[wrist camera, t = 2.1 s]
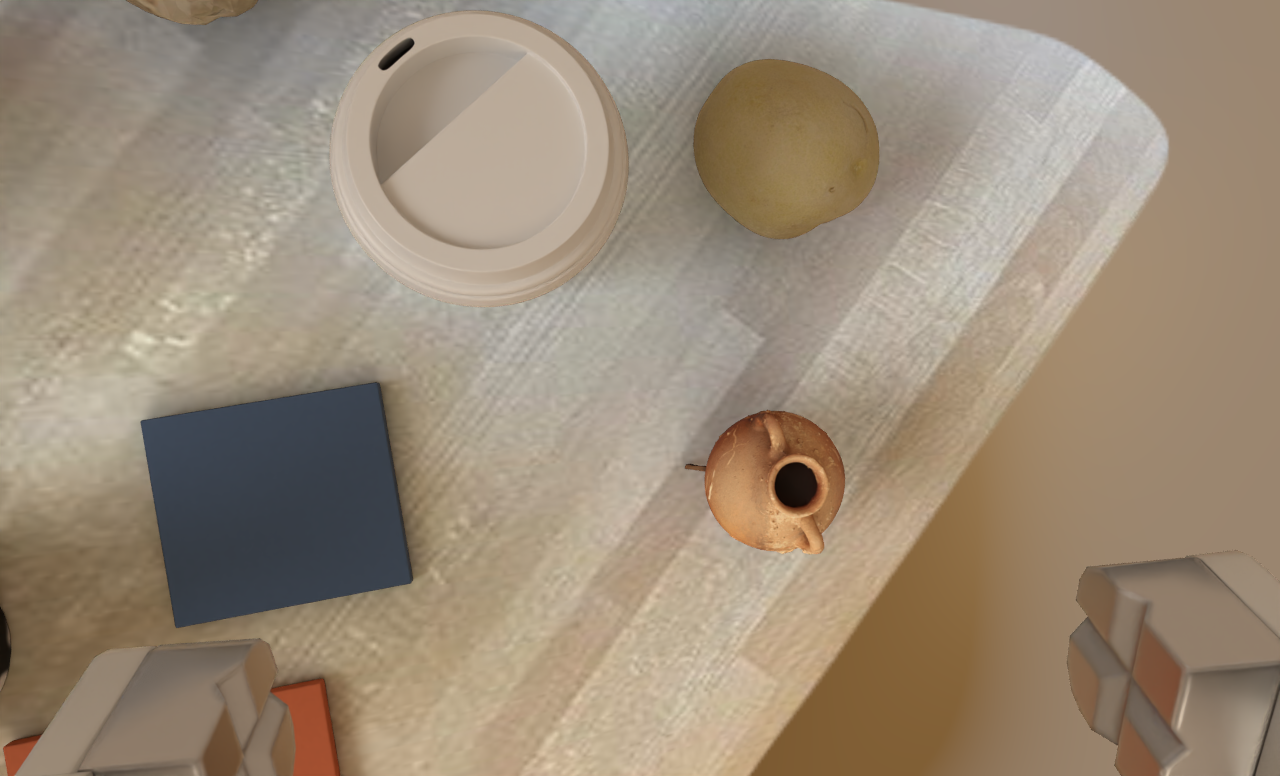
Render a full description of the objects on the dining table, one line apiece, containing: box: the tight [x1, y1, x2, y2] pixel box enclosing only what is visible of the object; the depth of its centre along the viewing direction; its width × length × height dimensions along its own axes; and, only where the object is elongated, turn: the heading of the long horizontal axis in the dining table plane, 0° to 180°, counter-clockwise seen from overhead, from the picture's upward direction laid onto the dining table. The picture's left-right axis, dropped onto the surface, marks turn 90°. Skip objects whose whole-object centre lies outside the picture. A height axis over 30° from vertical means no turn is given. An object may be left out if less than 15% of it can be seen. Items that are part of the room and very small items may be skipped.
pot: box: [685, 410, 845, 554], centre depth 42 cm, size 6×8×6 cm
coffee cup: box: [329, 10, 629, 307], centre depth 37 cm, size 10×10×15 cm
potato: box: [693, 59, 879, 239], centre depth 42 cm, size 8×8×8 cm
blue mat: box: [141, 382, 413, 628], centre depth 42 cm, size 9×10×1 cm
